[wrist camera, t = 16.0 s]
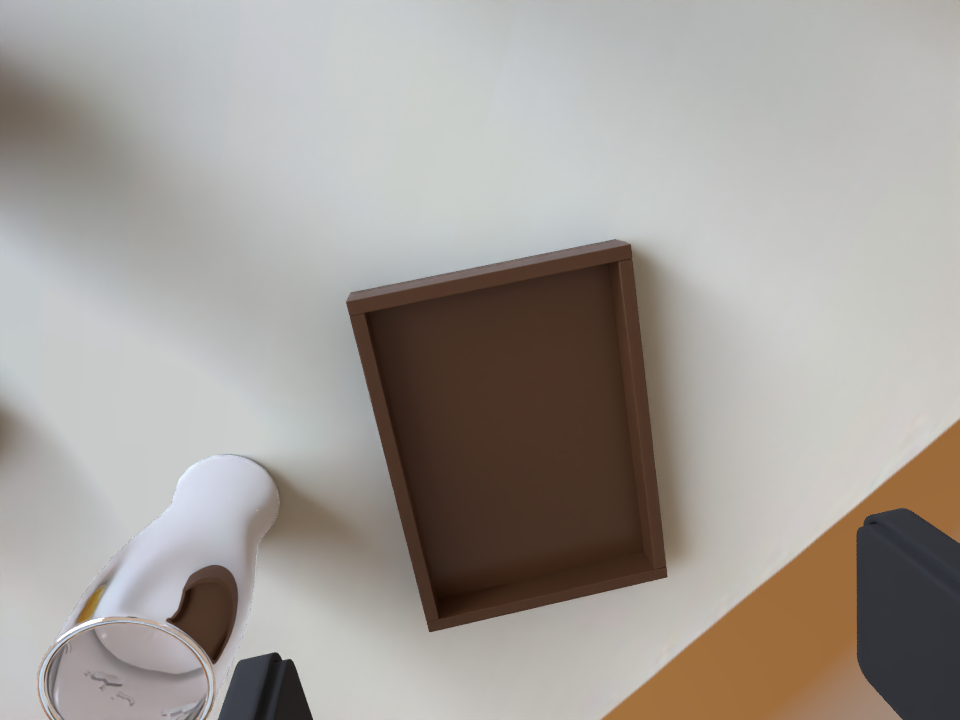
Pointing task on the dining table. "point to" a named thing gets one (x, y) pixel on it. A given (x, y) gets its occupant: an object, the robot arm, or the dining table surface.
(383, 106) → the dining table surface
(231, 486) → the beer glass
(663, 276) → the dining table surface
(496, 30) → the dining table surface
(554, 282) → the tray
